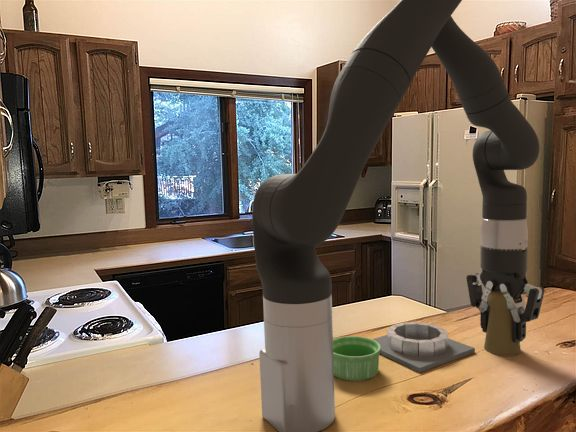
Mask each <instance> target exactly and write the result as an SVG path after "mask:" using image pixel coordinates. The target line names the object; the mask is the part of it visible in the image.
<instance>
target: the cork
mask: <svg viewBox="0 0 576 432" xmlns="http://www.w3.org/2000/svg"><path fill="white" fill-rule="evenodd" d="M487 302H488V304H489V306H490V313H489V319H488V325H487V332H486V333H485V338H484V345H483V348H484V350H485V351H486V352H488V353H489V354H493V355H496V356H501V357H514V356H519V355H520V354H521V352H522V349H521V342H519V343H516V342H513V341H512V322H513V321H514V319H513V316H512V313H511V310H509V309H508V307H507V300H506V298H505V296H504V295H503V294H502V292H500V291H492V292H490V293H489V294H488V297H487ZM514 303H519V298H518V299H515V300H514Z"/></svg>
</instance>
